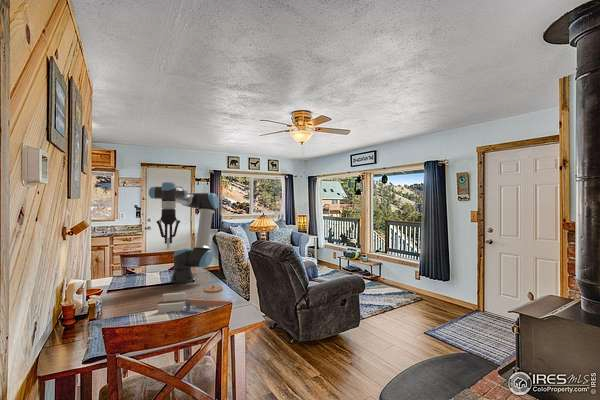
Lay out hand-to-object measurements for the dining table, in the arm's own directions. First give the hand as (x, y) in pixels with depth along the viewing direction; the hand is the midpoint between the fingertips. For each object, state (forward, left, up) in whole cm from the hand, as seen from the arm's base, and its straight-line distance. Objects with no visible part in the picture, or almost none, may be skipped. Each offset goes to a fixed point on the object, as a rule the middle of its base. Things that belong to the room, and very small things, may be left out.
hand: (168, 249), depth 177 cm
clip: (+26, +22, -27) cm, 43 cm away
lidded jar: (+12, +25, -30) cm, 41 cm away
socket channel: (+12, +5, -29) cm, 32 cm away
